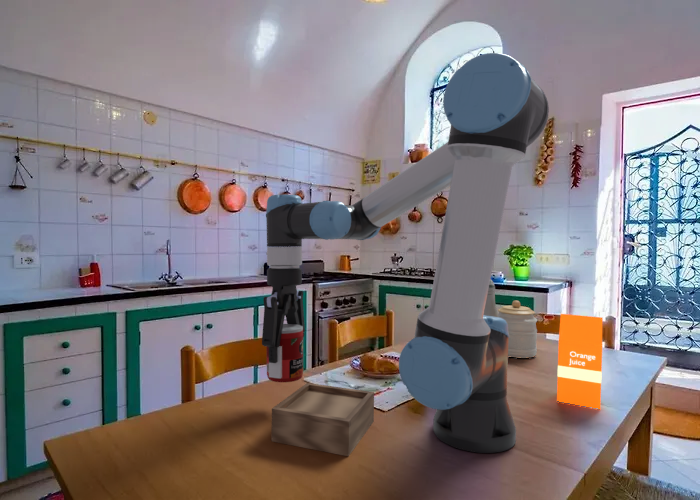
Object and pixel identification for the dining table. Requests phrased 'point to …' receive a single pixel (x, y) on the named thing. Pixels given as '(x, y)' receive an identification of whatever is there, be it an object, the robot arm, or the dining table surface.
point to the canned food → (290, 354)
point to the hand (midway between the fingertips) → (285, 371)
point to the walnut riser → (323, 418)
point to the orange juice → (580, 360)
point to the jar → (520, 329)
